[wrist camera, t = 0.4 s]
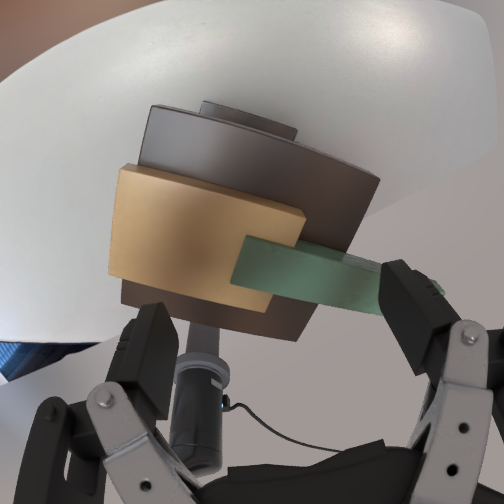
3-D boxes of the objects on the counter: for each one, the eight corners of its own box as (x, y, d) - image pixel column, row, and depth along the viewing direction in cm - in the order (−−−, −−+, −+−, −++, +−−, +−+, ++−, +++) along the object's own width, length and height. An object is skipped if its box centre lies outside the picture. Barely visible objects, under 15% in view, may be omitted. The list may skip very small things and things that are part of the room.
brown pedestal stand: (295, 128, 35) (381, 179, 14) (265, 210, 40) (296, 342, 20) (204, 100, 33) (150, 105, 12) (180, 187, 38) (120, 303, 17)
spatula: (447, 261, 17) (458, 273, 16) (404, 326, 20) (412, 340, 18) (127, 162, 13) (117, 170, 12) (114, 263, 16) (106, 278, 14)
